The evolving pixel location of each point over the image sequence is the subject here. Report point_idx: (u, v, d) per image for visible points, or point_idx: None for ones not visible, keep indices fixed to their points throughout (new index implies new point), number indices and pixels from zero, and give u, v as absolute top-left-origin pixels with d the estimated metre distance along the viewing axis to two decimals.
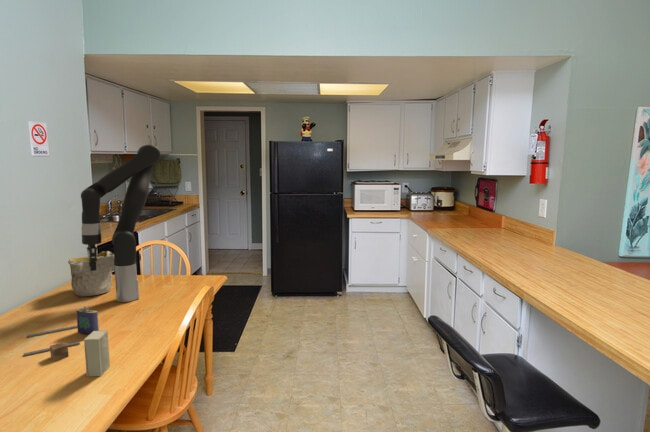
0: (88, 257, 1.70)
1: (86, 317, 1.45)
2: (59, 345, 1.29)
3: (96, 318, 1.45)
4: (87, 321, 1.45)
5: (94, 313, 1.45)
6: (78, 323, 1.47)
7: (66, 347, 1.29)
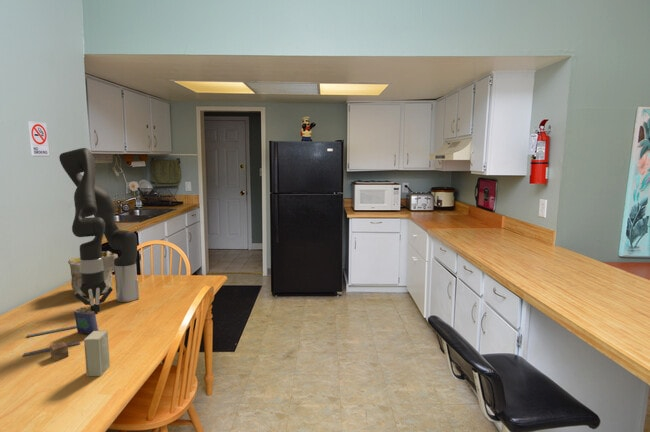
0: (96, 298, 1.46)
1: (84, 318, 1.44)
2: (59, 345, 1.29)
3: (94, 318, 1.44)
4: (85, 322, 1.44)
5: (91, 314, 1.44)
6: (76, 324, 1.46)
7: (66, 347, 1.29)
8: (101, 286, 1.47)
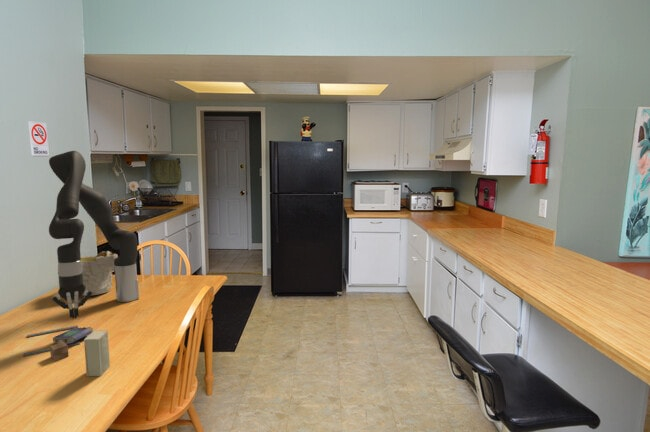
0: (75, 302, 1.42)
1: None
2: (59, 345, 1.29)
3: (79, 337, 1.38)
4: None
5: (73, 341, 1.36)
6: None
7: (66, 347, 1.29)
8: (80, 289, 1.43)
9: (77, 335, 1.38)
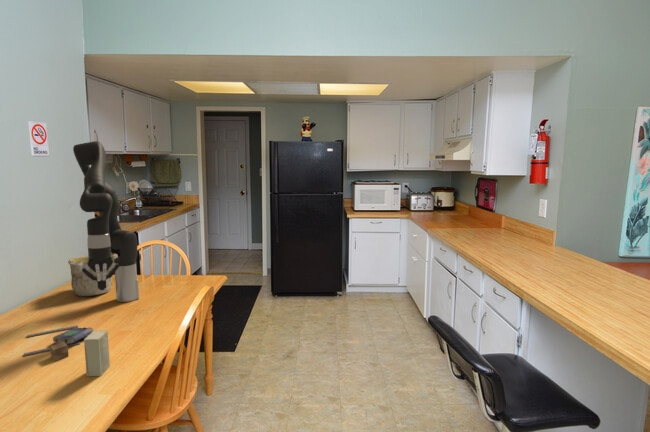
0: (103, 274, 1.47)
1: None
2: (59, 345, 1.29)
3: (79, 337, 1.38)
4: None
5: (73, 341, 1.36)
6: None
7: (66, 347, 1.29)
8: (108, 262, 1.48)
9: (77, 335, 1.38)
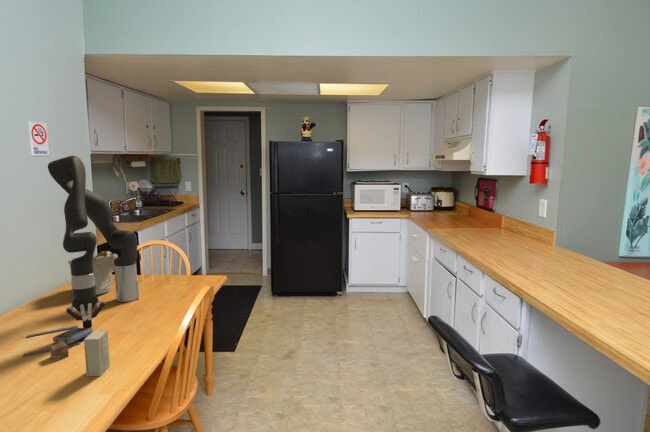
0: (88, 313, 1.45)
1: None
2: (59, 345, 1.29)
3: (79, 337, 1.38)
4: None
5: (73, 341, 1.36)
6: None
7: (66, 347, 1.29)
8: (93, 301, 1.46)
9: (77, 335, 1.38)
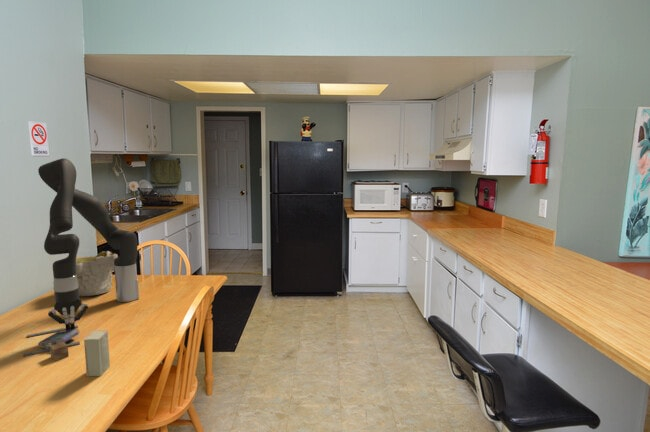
0: (71, 317, 1.42)
1: None
2: (59, 345, 1.29)
3: (68, 338, 1.36)
4: None
5: None
6: None
7: (66, 347, 1.29)
8: (76, 304, 1.43)
9: (66, 336, 1.36)
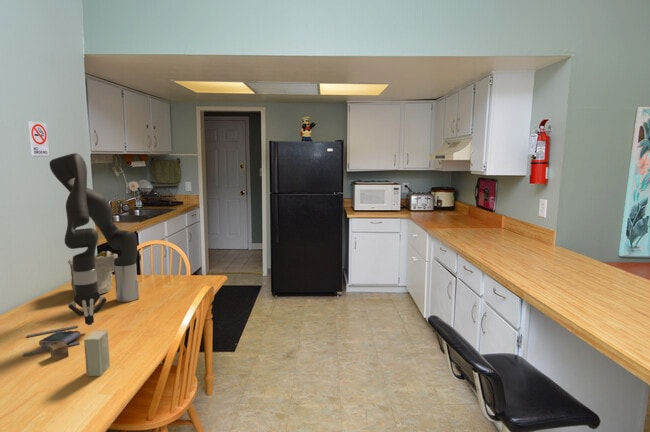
0: (90, 309, 1.46)
1: None
2: (59, 345, 1.29)
3: (69, 340, 1.36)
4: None
5: None
6: None
7: (66, 347, 1.29)
8: (95, 297, 1.47)
9: (67, 338, 1.36)
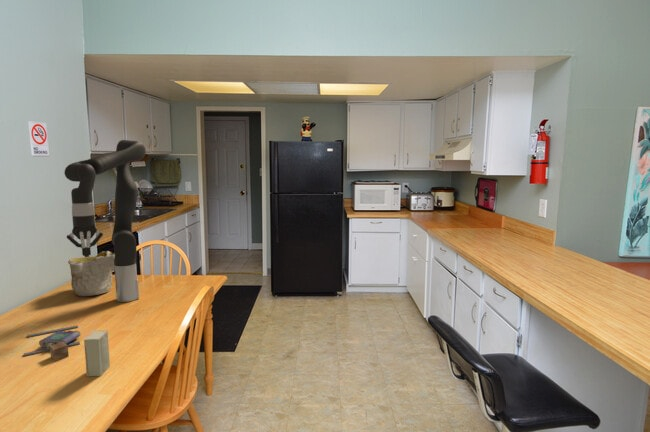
0: (87, 241, 1.54)
1: None
2: (59, 345, 1.29)
3: (69, 340, 1.36)
4: None
5: None
6: None
7: (66, 347, 1.29)
8: (92, 230, 1.55)
9: (67, 338, 1.36)
